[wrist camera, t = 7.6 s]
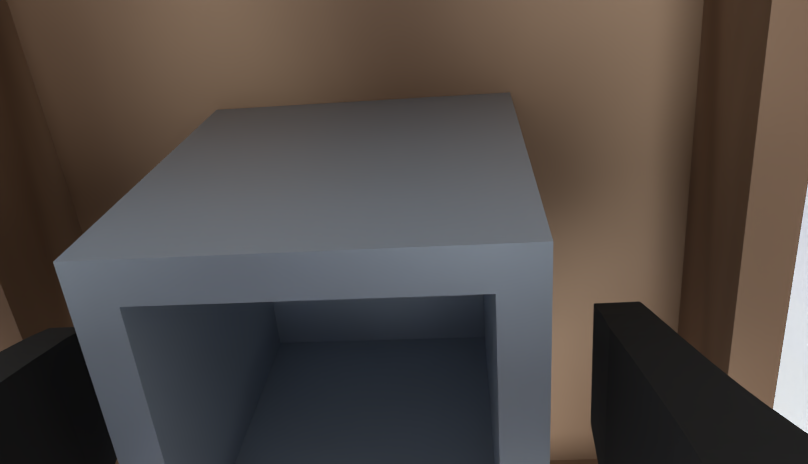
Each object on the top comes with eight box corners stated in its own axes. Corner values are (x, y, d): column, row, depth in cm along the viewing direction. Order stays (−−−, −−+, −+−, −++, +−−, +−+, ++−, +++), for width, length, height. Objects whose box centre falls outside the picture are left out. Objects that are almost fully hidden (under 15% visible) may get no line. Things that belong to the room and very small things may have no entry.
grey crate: (263, 350, 15) (162, 597, 10) (216, 109, 13) (53, 262, 8) (513, 343, 15) (547, 598, 10) (510, 92, 13) (552, 241, 7)
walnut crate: (149, 473, 18) (87, 593, 15) (-43, -104, 13) (-210, -103, 9) (691, 457, 17) (745, 585, 14) (754, -198, 11) (872, -233, 8)
